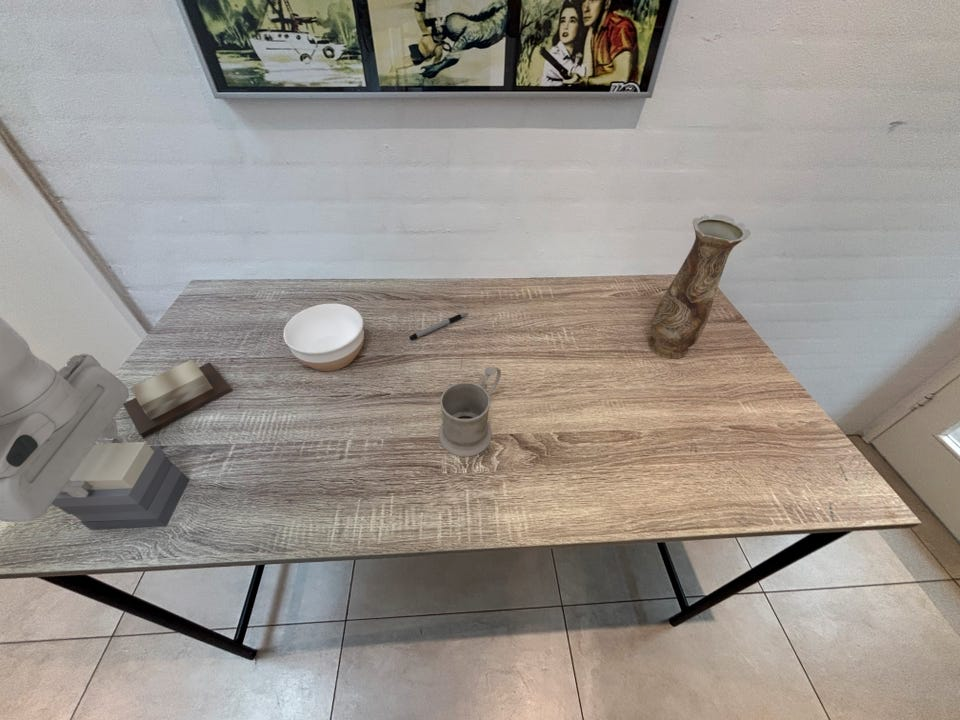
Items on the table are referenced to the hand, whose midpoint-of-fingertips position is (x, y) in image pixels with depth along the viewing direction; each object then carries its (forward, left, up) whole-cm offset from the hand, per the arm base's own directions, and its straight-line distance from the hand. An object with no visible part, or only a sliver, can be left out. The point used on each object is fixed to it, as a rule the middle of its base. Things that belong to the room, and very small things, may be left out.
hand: (100, 468), depth 58 cm
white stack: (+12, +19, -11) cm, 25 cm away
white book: (0, 0, -1) cm, 1 cm away
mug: (+48, -27, -11) cm, 56 cm away
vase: (+96, -43, -11) cm, 106 cm away
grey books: (0, 0, -11) cm, 11 cm away
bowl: (+40, +9, -11) cm, 42 cm away
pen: (+63, -1, -11) cm, 64 cm away
